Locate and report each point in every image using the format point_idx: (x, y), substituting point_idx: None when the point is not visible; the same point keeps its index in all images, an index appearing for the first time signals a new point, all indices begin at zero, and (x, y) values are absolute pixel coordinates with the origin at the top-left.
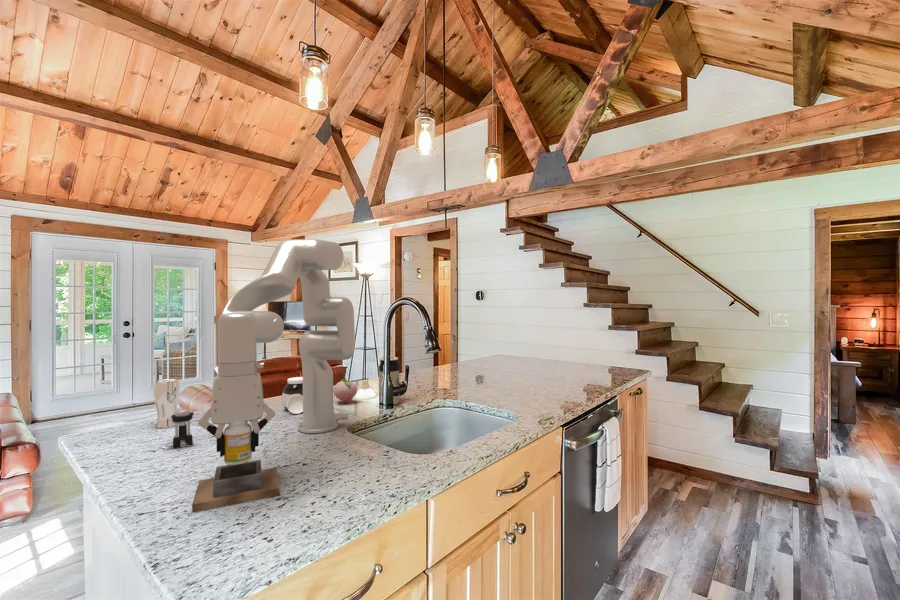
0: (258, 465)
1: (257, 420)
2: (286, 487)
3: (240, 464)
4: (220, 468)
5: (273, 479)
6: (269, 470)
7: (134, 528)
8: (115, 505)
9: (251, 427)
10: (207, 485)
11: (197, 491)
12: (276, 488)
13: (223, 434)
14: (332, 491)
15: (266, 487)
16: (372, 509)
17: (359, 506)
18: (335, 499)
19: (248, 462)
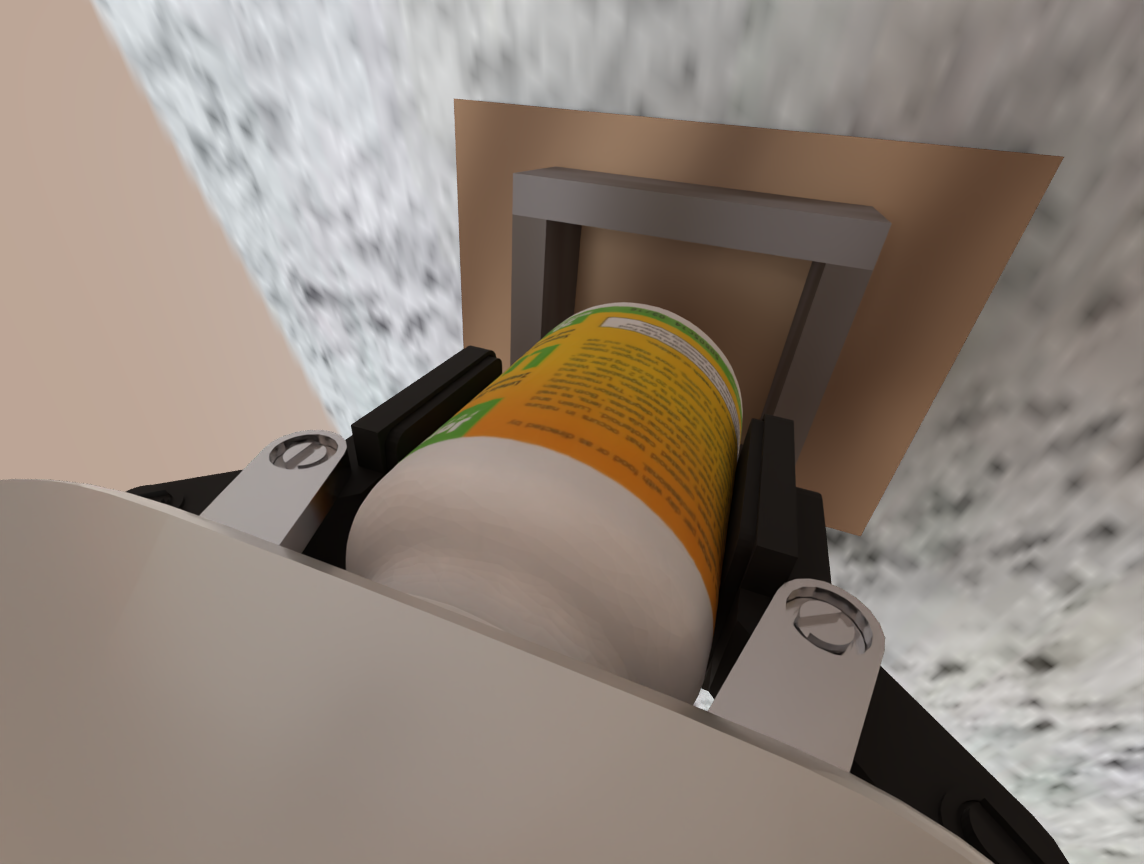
0: (811, 365)
1: (845, 767)
2: (942, 451)
3: (688, 239)
4: (540, 239)
5: (889, 406)
6: (957, 201)
7: (335, 402)
8: (176, 123)
9: (698, 694)
10: (507, 235)
11: (467, 290)
12: (842, 530)
13: (381, 461)
14: (1130, 659)
15: (799, 483)
16: (1117, 852)
17: (1095, 811)
18: (1063, 716)
19: (760, 236)
